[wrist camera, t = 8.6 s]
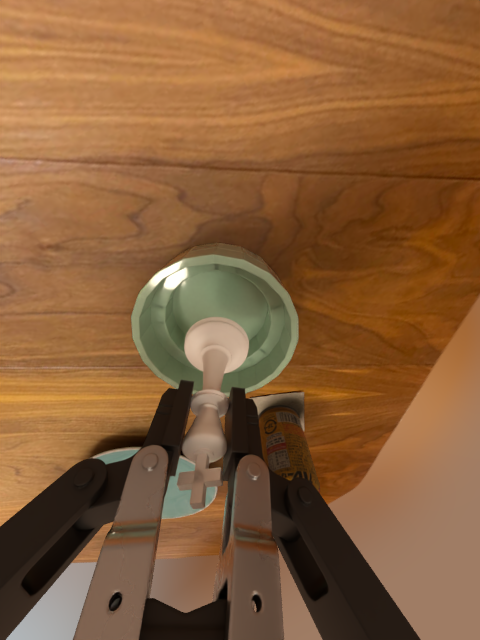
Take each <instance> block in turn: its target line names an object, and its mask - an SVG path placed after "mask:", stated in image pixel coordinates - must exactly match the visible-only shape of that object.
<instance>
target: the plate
mask: <svg viewBox="0 0 480 640" xmlns="http://www.w3.org/2000/svg"><path fill="white" fill-rule="evenodd" d="M140 448H141V447H124V448H118V449H113V450H108V451H105V452H102V453H99V454H97V455H94V456H92V457H91V458H97V459H100V460H102V461H103V462H104V463H105V464H109V463H113V462H118V461H122V460H125V459H127V458H130V457H131V456H133V455H134V454H136V453H137V452H138V451H139V450H140ZM89 459H90V458H89ZM195 464H196V462H194V461H192V460H190V459H188V458H187V457H185V456H182V455H180V457H179V461H178V466H177V470H176V475H175V476H170V480H169V484H168V488H167V492H166V495H165V498H164V505H163V511H162V518H161V519H169V518H179V517H184V516H188V515H192V514H195V513H197V512H200V511H201V510H203V509H205V508H206V507H207V506H209V505H210V504H211V503H212V502H213V500H214V499H215V497H216V494H217V486H216V487H207V490H206V500H205V508H200V509H192V507H191V505H190V497H191V491H192V489H191V490H183V491H180V490H179V488H178V487H177V481H178V476H179V473H180V472H188V471H195Z"/></svg>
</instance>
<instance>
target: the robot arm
mask: <svg viewBox="0 0 480 640" xmlns="http://www.w3.org/2000/svg"><path fill="white" fill-rule="evenodd" d="M193 387H194V381H188V380H181V381H180V384H179V387H178V389H172V388H169V389H168V390H167V391H166V392H165V393H164V394H163V395H162V397H161V400H160V402H159V406H158V408H157V410H156V414H155V416H154V418H153V421H152V423H151V426H150V429H149V431H148V434H147V437H146V439H145V442H144V444H143V446H142V447H141V448H140V450H139V451H138V452H137V453H136V454H134V455H133V456H131V457H130V458H127V459H125V460H122V461H118V462H113V463H109V464H105V463H104V462H103V461H102V460H100V459H97V458H90V459H86V460H83V461H81V462H79V463H77V464H76V465H74V466H73V467H72V468H70V469H69V470H68V471H67V472H66V473H64V474H63V475H62V476H61V477H60V478H58V479H57V480H56V481H55V482H53V483H52V484H51V485H50V486H49V487H47V488H46V489H45V490H44V491H43V492H41V493H40V494H39V495H38V496H37V497H35V498H34V499H33V500H32V501H31V502H29V503H28V504H27V505H26V506H25V507H23V508H22V509H21V510H20V511H19V512H17V513H16V514H15V515H14V516H13V517H11V518H10V519H9V520H8V521H7V522H5V523H4V524H3V525H2V526H1V527H0V640H6V638H7V637H8V636H9V635H10V634H11V633H12V631H13V630H14V629H15V628H16V627H17V625H18V624H19V623H20V622H21V621H22V620H23V619H24V617H25V616H26V615H27V614H28V613H29V611H30V610H31V609H32V608H33V607H34V606H35V605H36V603H37V602H38V601H39V600H40V599H41V597H42V596H43V595H44V594H45V593H46V592H47V590H48V589H49V588H50V587H51V586H52V585H53V583H54V582H55V581H56V580H57V579H58V578H59V576H60V575H61V574H62V573H63V572H64V571H65V569H66V568H67V567H68V566H69V565H70V564H71V562H72V561H73V560H74V559H75V558H76V556H77V555H78V554H79V553H80V552H81V551H82V549H83V548H84V547H85V546H86V545H87V544H88V542H89V541H90V540H91V539H92V538H93V537H94V535H95V534H96V533H97V532H98V531H99V530H100V528H101V527H102V526H103V525H104V524H107V523H110V522H113V521H114V522H113V525H112V527H111V530H110V531H109V532H108V534H107V536H106V538H105V540H104V543H103V546H102V549H101V552H100V555H99V558H98V561H97V565H96V568H95V571H94V574H93V577H92V580H91V584H90V587H89V590H88V593H87V597H86V600H85V603H84V606H83V609H82V613H81V616H80V619H79V622H78V625H77V628H76V632H75V635H74V638H73V640H284V631H283V615H282V599H281V583H280V569H279V554H278V548H279V550H280V552H281V554H282V556H283V558H284V560H285V562H286V564H287V567H288V569H289V571H290V573H291V575H292V577H293V579H294V581H295V583H296V585H297V587H298V589H299V591H300V594H301V596H302V598H303V600H304V602H305V604H306V606H307V608H308V610H309V612H310V614H311V616H312V618H313V620H314V623H315V625H316V627H317V629H318V631H319V633H320V635H321V637H322V639H323V640H420V638H419V637H418V635H417V634H416V632H415V631H414V630H413V628H412V627H411V625H410V624H409V622H408V621H407V619H406V618H405V616H404V615H403V614H402V612H401V611H400V609H399V608H398V607H397V605H396V603H395V602H394V601H393V599H392V598H391V596H390V595H389V593H388V592H387V590H386V589H385V588H384V586H383V585H382V583H381V582H380V580H379V579H378V577H377V576H376V575H375V573H374V572H373V570H372V569H371V567H370V566H369V564H368V563H367V562H366V560H365V559H364V557H363V556H362V554H361V553H360V551H359V550H358V548H357V547H356V546H355V544H354V543H353V541H352V540H351V539H350V537H349V535H348V534H347V533H346V531H345V530H344V528H343V527H342V525H341V524H340V522H339V521H338V520H337V518H336V517H335V515H334V514H333V512H332V511H331V510H330V508H329V507H328V505H327V504H326V502H325V501H324V499H323V498H322V496H321V495H320V494H319V492H318V491H317V489H316V488H315V487H314V485H313V484H312V483H311V482H309V481H308V480H306V479H304V478H301V477H297V478H294V479H292V480H291V481H290V480H288V479H286V478H284V477H282V476H280V475H278V474H276V473H274V472H273V471H272V470H271V469H270V468H269V467H268V466H267V464H266V463H265V461H264V458H263V453H262V445H261V436H260V427H259V419H258V410H257V406H256V404H255V403H254V401H253V399H247V398H246V396H245V388H239V387H232V388H231V391H230V395H229V402H230V403H229V407H228V411H227V412H226V414H225V434H224V435H225V438H226V442H227V451H226V453H225V455H224V458H223V481H228V493H227V496H226V502H225V511H224V520H223V529H222V538H221V547H220V555H219V562H218V566H217V571H216V578H215V585H214V594H213V602H212V603H210V604H208V605H205V606H202V607H200V608H198V609H195V610H193V611H191V612H188V613H183V612H181V611H179V610H177V609H175V608H173V607H171V606H168V605H166V604H164V603H162V602H160V601H158V600H156V599H154V598H150V592H151V586H152V579H153V572H154V565H155V557H156V550H157V544H158V537H159V531H160V524H161V518H162V511H163V505H164V498H165V495H166V492H167V488H168V484H169V480H170V476H175V475H176V470H177V466H178V461H179V457H180V452H181V445H182V442H183V438H184V434H185V429H186V424H187V420H188V415H189V411H190V402H191V397H192V393H193ZM273 537H274V538H273ZM277 546H278V547H277ZM255 604H256V608H257V611H256V612H255V611H254V605H255Z"/></svg>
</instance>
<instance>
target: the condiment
mask: <svg viewBox="0 0 480 640" xmlns="http://www.w3.org/2000/svg"><path fill="white" fill-rule="evenodd" d="M250 399H253V401H254V403H255V404H256V406H257V410H258V419H259V427H260V436H261V445H262V453H263V458H264V461H265V463H266V464H267V466H268V467H269V468H270V469H271V470H272V471H273V472H274V473H276V474H278V475H280V476H282V477H284V478H286V479H288V480H290V481H291V480H292V479H294V478H297V477H301V478H304V479H306V480H308V481H309V482H311V483H312V484H313V485H314V487H315V488H316V489H317V491H318V492H320V484H319V480H318V477H317V475H316V471H315V468H314V465H313V461H312V458H311V455H310V451H309V448H308V445H307V441H306V438H305V435H304V432H303V431H304V392H300V393H296V392H295V393H287V394H277V395H269V396H262V397H256V398H250Z"/></svg>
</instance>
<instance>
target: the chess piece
mask: <svg viewBox="0 0 480 640" xmlns="http://www.w3.org/2000/svg"><path fill="white" fill-rule="evenodd" d="M248 349H249V340H248V336H247V334H246V332H245V331H244V329H243V328H242V327H241V326H240V325H239V324H237V323H236V322H234V321H232V320H230V319H227V318H223V317H209V318H205V319H202V320H200V321H198V322H196V323H195V324H193V325H192V326H191V327H190V329H189V330H188V332H187V334H186V337H185V343H184V350H185V354H186V357H187V359H188V360H189V362H190V363H191V364H192V365H193V366H194V367H196V368H197V369H199V370H201V371H203V390H200V391H198V392H196V393H195V394H194V395H193V396H192V397H191V402H190V407H191V410H192V412H193V413H194V414H195V415H196V416H197V417H196V418H195V420H194V422H193V424H192V426H191V428H190V429H189V431H188V432H187V434H186V436H185V437H184V439H183V442H182V445H181V449H182V452H183V454H184V455H185V456H186V457H187V458H188V459H190V460H192V461H194V462H196V464H195V471H188V472H180V473H179V476H178V481H177V487H178V488H179V490H180V491H183V490H191V489H192V491H191V497H190V505H191V507H192V509H200V508H205V500H206V490H207V487H216V486H223V472H222V469H221V467H219V468H211V469H209V463H211V462H214V461H217V460H219V459H220V458H222V457H223V456H224V455H225V453H226V451H227V442H226V438H225V435H224V433H223V429H222V426H221V421H220V417H222V416H223V415H225V414H226V412H227V411H228V407H229V403H230V402H229V399H228V397H227V396H226V395H225V394H224V393H222V392H221V391H220V390H221V385H222V380H223V376H224V374H225V373H229V372H231V371H234V370H235V369H237V368H238V367H240V366H241V365H242V364H243V362H244V361H245V359H246V357H247V354H248Z"/></svg>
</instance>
